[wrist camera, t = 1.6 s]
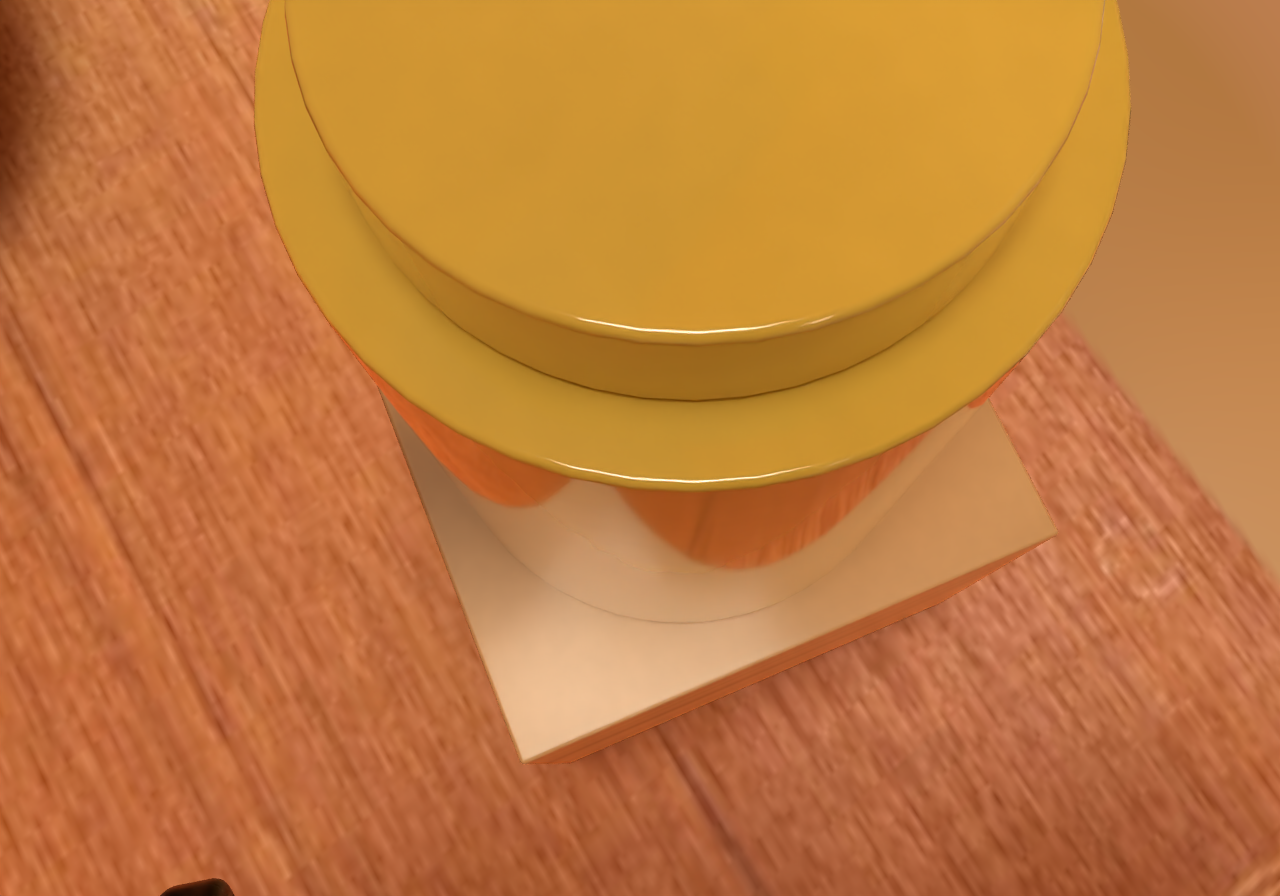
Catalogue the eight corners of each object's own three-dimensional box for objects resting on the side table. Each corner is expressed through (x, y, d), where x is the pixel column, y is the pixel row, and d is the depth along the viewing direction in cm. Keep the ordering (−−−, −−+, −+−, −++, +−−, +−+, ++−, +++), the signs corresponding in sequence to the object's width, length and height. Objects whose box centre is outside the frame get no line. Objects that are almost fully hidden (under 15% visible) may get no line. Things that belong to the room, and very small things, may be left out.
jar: (999, 508, 16) (1412, 195, 7) (547, 702, 15) (385, 621, 6) (795, 111, 17) (923, -555, 9) (380, 273, 17) (67, -257, 8)
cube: (942, 602, 22) (1061, 532, 16) (567, 764, 22) (520, 765, 15) (774, 258, 24) (815, 62, 17) (424, 399, 24) (326, 252, 17)
